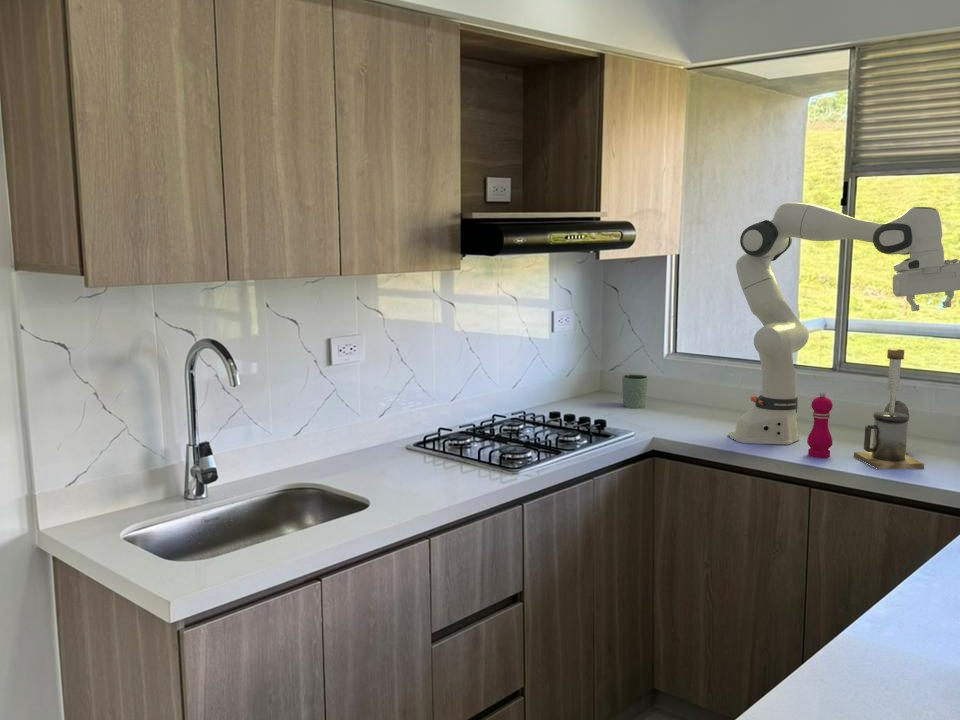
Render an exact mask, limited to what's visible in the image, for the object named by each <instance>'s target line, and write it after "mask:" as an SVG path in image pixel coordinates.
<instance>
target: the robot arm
mask: <svg viewBox="0 0 960 720" xmlns="http://www.w3.org/2000/svg"><path fill="white" fill-rule="evenodd" d="M793 238H796V239H801V240H805V241H806V240H807V241H814V242H831V241H832V242H834V241H841V240H842V241H843V240H856V241H860V242H861V241H862V242H867V243H872V244H873V246H874V248H875V249H876V250H877V251H878V252H879V253H881V254H885V255H888V256H889V255H891V256H893V255H902V256H903V255H904V256H906V255H907V256H908V255H909V257H908V258H906V259H904V260H901V261H899V262H897V263H895V264H893V271H894V274H893V276H892V292H893V293H892V294H893V295H894V296H895V297H896V298H900V297H901V298H902V297H906V298H905V299H906V301H907V302H908V304H909V305H910V310H911V312H919V311H920V304H917V303H916V302H915V299H916V296H919V295H928V294H936V293H938V294H939V293H945V296H946V298H945V301H942V308H944V309H945V308H951V307H952V300H953V299H954V296H955V291H960V260H959V259H958V258H951V259H945V251H944V246H943V244H942V238H943V229H942V221H941V216H940V213H939V211H938V209H936V208H934V207H933V206H932V207H931V206H912V207H910V208H908V209H907V210H906V211H905V212H904V213H902V214H901V215H899V216H898V217H896V218H893V219H892V220H890V221H888V222H885V223H881V222H876V221H870V220H863V219H859V218H855V217H852V216H849V215H847V214H844V213H842V212H839V211H836V210H834V209H831V208H828V207H825V206H821V205H817V204H812V203H811V204H810V203H804V202H802V203H801V202H786V203H782V204H781V205H779V207H778V208H777V209H776V210H775V212H774V215H773V218H772V219H771V220H769V219H764V220H763V221H759V222H756V223H753V224H751V225H749V226H748V227H746V228H745V229H744V230H743V231H742V233H741V235H740V238H739V239H740V240H739V243H740V247H741V249H742V250H743V252H744V254H743V255H742V256H740V257H739V259H737V260H736V263H735V267H736V269H735V270H736V273H737V278H738V282H739V285H740V288H741V290H742V293H743V295H744V297H745V299H746V301H747V304H748V307H749V309H750V311H751V313H752V314H753V316H755V317H757V319H758V320H759V321H760V323H761V324H762V325H763V326H762V327H761V328H759V329H758V330H757V331H756V333H755V334H754V337H753V346H754V348H755V350H756V351H757V353H758V356H759V361H760V367H761V393H760V395H759V396H756V395H751V396H750V397H749V398H750V402H753V403H755V404H754V407H752V408H751V409H749V410H748V411H746V412H745V413H744V414H742V415H740V416H739V417H738V419H737V421H736V426H735V429H734V430H730V431H729V432H728V437H729V436H730V437H731V438H730V437H729V438H730V439H731V440H733V439H734V440H733V441H735V440H736V442H739V443H743V444H756V445H757V444H759V445H761V444H762V445H791V444H793V443H795V442H799V440H800V436H799V432H798V423H797V413H798V406H799V404H798V403H799V402H798V397H797V392H798V391H797V390H798V378H799V377H798V375H799V374H798V373H797V370H796V368H795V364H794V360H793V359H794V358H793V354H794V353H797V352H798V351H800V350H802V348H804V347H805V346H806V344H808V340H809V338H810V337H809V330H808V329H807V326H805V324H803V323H802V322H801V321H800V320H799V318H798V317H797V316H796V313H794V311H793V310H792V308H791V307H790V305H789V304H788V302H787V301H786V299H785V297H784V295H783V293H782V290H781V288H780V286H779V283H778V280H777V279H776V276H775V274H774V272H773V270H772V266H771V262H774V261H776V260H777V259H778V258H779V257H781V256H782V255H783V254H784V253H785V252H786V251H788V249H789V248H790V247H791V245H792V241H793Z"/></svg>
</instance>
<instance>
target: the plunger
mask: <svg viewBox="0 0 960 720" xmlns="http://www.w3.org/2000/svg"><path fill="white" fill-rule="evenodd" d="M886 359H889V366H888V377H887V378H888V379H887V381H888V382H887V390H888V391H890V392H891V391H896V392H899V391H900V381H901V380H900V377H901V366H902V360H905V349H902V348H888V349H887V355H886Z"/></svg>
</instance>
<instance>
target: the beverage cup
mask: <svg viewBox="0 0 960 720" xmlns="http://www.w3.org/2000/svg"><path fill="white" fill-rule="evenodd" d="M896 397H897V396H896V394H895V408H894V412H897V413H902V414H906V415H909V416H910V412H909V408H908V406H907V405H906V404H905V403H904V402H902V401H900V400H897V399H896ZM889 406H890V402H889V403H887V404H886V406H885V407H884V410H883V412H889Z"/></svg>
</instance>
